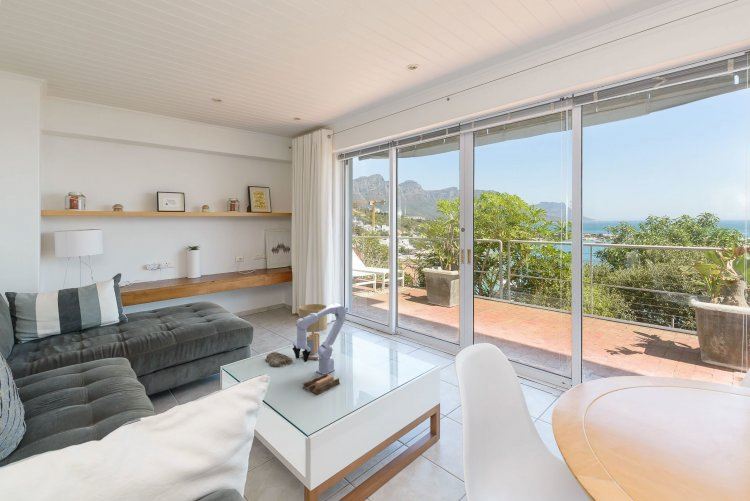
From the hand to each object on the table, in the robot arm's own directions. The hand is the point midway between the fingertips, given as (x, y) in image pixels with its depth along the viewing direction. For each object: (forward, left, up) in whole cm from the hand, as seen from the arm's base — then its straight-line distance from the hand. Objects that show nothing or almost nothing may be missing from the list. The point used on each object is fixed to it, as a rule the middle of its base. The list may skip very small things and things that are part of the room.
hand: (301, 360), depth 215 cm
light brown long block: (+1, +22, -9) cm, 24 cm away
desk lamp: (-27, -21, -11) cm, 36 cm away
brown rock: (-5, -31, -11) cm, 34 cm away
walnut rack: (+1, +19, -10) cm, 22 cm away
